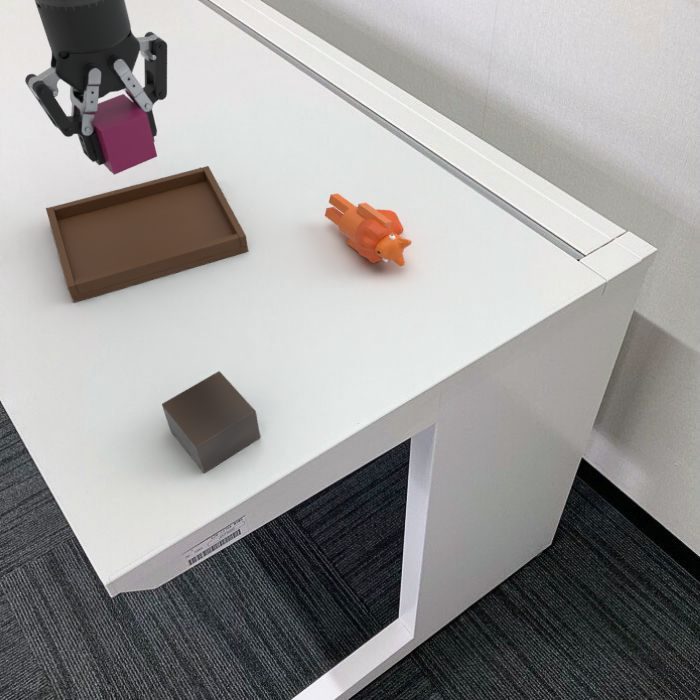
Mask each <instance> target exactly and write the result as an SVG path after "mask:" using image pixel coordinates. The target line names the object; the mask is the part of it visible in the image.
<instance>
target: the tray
mask: <svg viewBox="0 0 700 700" xmlns="http://www.w3.org/2000/svg"><path fill="white" fill-rule="evenodd" d="M45 210H46V214H47V217H48V221H49V224H50V229H51V233H52V236H53V240H54V243H55V247H56V250H57V254H58V257H59V258H58V259H59V261H60V266H61V268H62V272H63V276H64V280H65V283H66V287H67V290H68V292H69V294H70V297H71V300H72V302H73V303H74V304H75V303H77V302H82V301H85V300H88V299H92V298H95V297H98V296H101V295H104V294H108V293H111V292H115V291H118V290H122V289H125V288H128V287H132V286H135V285H136V286H137V285H139V284H142V283H146V282H149V281H153V280H155V279H158V278H162V277H166V276H169V275H173V274H176V273H179V272H183V271H186V270H189V269H194V268H196V267H199V266H203V265H207V264H210V263H214V262H217V261H220V260H224V259H227V258H230V257H233V256H234V257H235V256H237V255H241V254H243V253H247V252H249V245H248V240H247V236H246V234H245V231H244V229H243V228H242V226H241V224H240V222H239V220H238V219H237V216H236V215H235V213H234V211H233V210H232V207H231V206H230V203H229V201H228V200H227V198H226V196H225V194H224V192H223V190H222V188H221V187H220V185H219V183H218V181H217V179H216V177H215V176H214V173H213V171H212V170H211V168H210V166H209V165H206V166H203V167H198V168H195V169H191V170H186V171H183V172H180V173H175V174H172V175H168V176H164V177H160V178H157V179H153V180H152V179H151V180H149V181H145V182H141V183H138V184H134V185H130V186H125V187H122V188H118V189H114V190H110V191H106V192H102V193H99V194H95V195H92V196H88V197H84V198H81V199H76V200H73V201H67V202H65V203H61V204H57V205H54V206H50V207H46V208H45Z"/></svg>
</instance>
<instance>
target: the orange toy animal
mask: <svg viewBox="0 0 700 700" xmlns="http://www.w3.org/2000/svg"><path fill="white" fill-rule="evenodd" d="M328 203H329V204H330V205H331V207H326V209H325V213H324V217H326V219H328V220H330V222H332V223H333V224H335V225H336V226H337V227H338V229H339V232H340V233H341V234H342V235H344V236H345V237H346V238H348V239H347V242H346V244H347V245H348V246H349V247H351V248H352V249H353V250H354V251H356V252H357V253H358V255H360V256H362V257H363V258H364V259H366V260H368V261H369V262H370V263H371V264H375V263H380V261H381V260H382V261H383V263H388V262H389V261H393V262H394V263H395V264H396V265H397V266H399V267H404V266H405V264H406V260H405V257H404V251H405V249H406V248H408V247H409V246H410V245H412V240H411V239H407V238H403V237H402V236H400V235H402V234H403V233H404V226H403V224H402V223H401V221H400V218H399V217H398V215H397V213H396V212H395V211H393V210H391V209H381V208H379V209H375V207H373V206H371V205H370V204H368V203H367V202H363V203H358V205H357V206H356V205H354V204H353V203H352V202H350V201H349V200H348V199H346V198H345V197H344V196H342V195H341V194H339V193H331V194H330V195H329V200H328Z"/></svg>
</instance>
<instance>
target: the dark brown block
mask: <svg viewBox="0 0 700 700" xmlns="http://www.w3.org/2000/svg"><path fill="white" fill-rule="evenodd" d="M161 407H162V410H163V412H164V416H165V417H166V422H167V425H168V427H169V430H170V432H171V434H173V436H174V437H175V438H176V439H177V441H178V442H179V444H180V445H181V446H182V447H183V448H184V449H185V451H186V452H187V453H188V455H189V456H190V457H191V459H192V460H193V461H194V462H195V463H196V465H197V466H198V467H199V469H200V470H201V471H202V473H204V474H206V473H207V472H209V471H210V470H212V469H213V468H215V467H217V466H218V465H220V464H221V463H223V462H225V461H227V460H228V459H230V458H231V457H232V456H234V455H236V454H238V453H239V452H240V451H242V450H244V449H245V448H247V447H248V446H250V445H252V444H253V443H255V442H256V441H258V440H259V439H261V438H262V437H261V433H260V432H261V431H260V426H259V421H258V416H257V411H256V410H255V408H254V407H253V406H252V405H251V404H250V403H249V402H248V401H247V400H246V399H245V398H244V396H243V395H242V394H241V393H240V391H238V390H237V389H236V388H235V386H233V384H232V383H231V382H230V381H229V380H228V379H227V378H226V376H225V375H224V374H223V373H222V372H221V371H220V370H219V371H217V372H215V373H213V374H212V375H210V376H208V377H206V378H205V379H203V380H201V381H199V382H197V383H196V384H194V385H192V386H190V387H189V388H187V389H185V390H184V391H181V392H180V393H178V394H176V395H175V396H173V397H171V398H170V399H168V400H165V402H162V403H161Z"/></svg>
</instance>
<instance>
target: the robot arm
mask: <svg viewBox="0 0 700 700" xmlns="http://www.w3.org/2000/svg"><path fill="white" fill-rule="evenodd" d="M34 2H35V6H36V8H37V12H38V15H39V17H40V21H41V24H42V27H43V30H44V33H45V36H46V40H47V42H48V45H49V47H50V51H51V59H50V67H49V68H47V69H46V70H44V71H43V72H41V73H39V74H38V75H36V74H35V73H29V74H27V75H26V76H25V79H24V82H25V84H26V85H27V88H29V91H30V92H31V93H32V95H33V96H34V98H35V100H37V102H38V104H39V105H40V107H41V108H42V110H43V111H44V113H45V115H47V117H48V118H49V120H50V121H51V123H52V124H53V126H54V127H56V129H58V130H59V131H60V133H61V134H62V135H63V136H65V137H67V138H70V137H72V136H74V135H77V136H78V137H77V138H78V140H79V143H80V146H81V149H82V152H83V154H84V155H85V156H86V157H87V158H88V159H89V160H90V161H91V162H92V163H96V164H97V165H98V166H101V165H104V163H106V161H105V158H104V155H103V151H102V148H101V145H100V142H99V138H98V135H97V133H96V132H95V131H94V117H95V113H97V109H98V103H99V99H101V98H104V97H105V96H107V95H108V94H109V93H115V92H119V91H122V90H123V91H124V92H125V94H126V96H127V97H128V98H129V99H130V100H131V101H132V102H134V103H135V104H136V105H137V106H138V107H139V108H141V109H142V110H143V111H144V112H145V113H146V114H147V116H148V120H149V125H150V129H151V133H152V137H153V141H154V143H155V137H156V136H157V134H158V129H157V124H156V120H155V116H154V113H153V112H154V111H153V108H154V105H155V103H156V102H158V101H163V100H165V99H166V98H167V96H168V43H167V42H166V41H165V40H164V39H162V38H161V37H159V36H158V35H157V34H156V33H154V32H152V31H148V32H146V33H145V34H144V36H137V37H136V36H135V35H134V34H133V32H132V25H131V21H130V17H129V13H128V8H127V6H126V1H125V0H34ZM139 54H140V55H141V57H142V58H143V59H144V61H143V63H144V86H142V85H141V83H140V82H139V81H138V79H137V78H136V76H135V75H134V73H133V72H134V68H135V66H136V63H137V60H138V57H139ZM60 80H61V81H62V82H64V83H66V85H68V86H69V100H70V102H71V115H67V114H66V112H65V110H63V108H62V106H61V105H60V103H59V102H58V100H57V99H56V97H58V95H59V88H58V82H59V81H60Z"/></svg>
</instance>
